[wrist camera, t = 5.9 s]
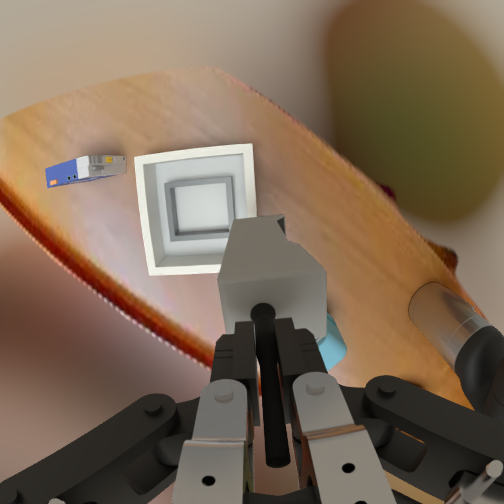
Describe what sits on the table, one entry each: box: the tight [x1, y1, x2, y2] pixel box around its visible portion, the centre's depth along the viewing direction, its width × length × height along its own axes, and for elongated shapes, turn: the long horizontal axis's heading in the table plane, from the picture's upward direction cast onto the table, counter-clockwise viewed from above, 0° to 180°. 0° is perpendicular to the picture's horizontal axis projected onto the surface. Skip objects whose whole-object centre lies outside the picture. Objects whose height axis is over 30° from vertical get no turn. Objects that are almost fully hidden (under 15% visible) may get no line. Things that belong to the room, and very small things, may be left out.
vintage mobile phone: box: [217, 214, 327, 468], centre depth 18 cm, size 4×5×25 cm
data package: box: [315, 313, 347, 371], centre depth 44 cm, size 12×4×12 cm, turn 137°
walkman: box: [45, 155, 126, 188], centre depth 36 cm, size 8×3×12 cm, turn 96°
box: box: [134, 143, 257, 276], centre depth 41 cm, size 16×17×6 cm
